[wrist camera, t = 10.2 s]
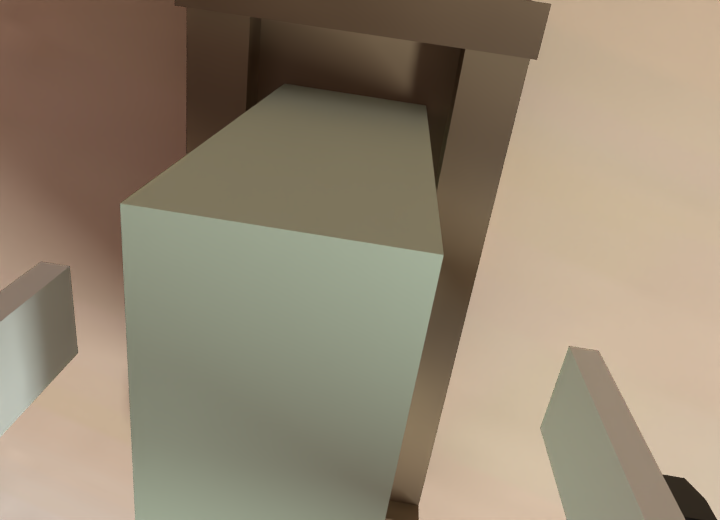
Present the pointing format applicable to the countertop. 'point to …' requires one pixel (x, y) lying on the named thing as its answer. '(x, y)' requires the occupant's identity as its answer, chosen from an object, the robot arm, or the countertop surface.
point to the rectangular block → (281, 310)
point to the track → (398, 83)
